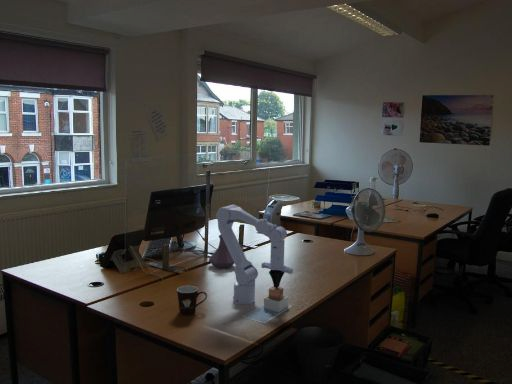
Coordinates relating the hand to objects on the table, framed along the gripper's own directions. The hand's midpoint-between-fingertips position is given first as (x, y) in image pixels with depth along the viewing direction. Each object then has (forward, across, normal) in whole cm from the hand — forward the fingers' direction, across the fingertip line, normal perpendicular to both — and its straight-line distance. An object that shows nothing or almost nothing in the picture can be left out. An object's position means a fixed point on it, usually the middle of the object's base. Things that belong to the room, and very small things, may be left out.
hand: (276, 286), depth 196 cm
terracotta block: (+6, 0, 0) cm, 6 cm away
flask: (+10, -55, +33) cm, 65 cm away
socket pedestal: (+9, 0, 0) cm, 9 cm away
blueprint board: (+10, 0, -6) cm, 11 cm away
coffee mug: (+10, -26, -25) cm, 37 cm away
